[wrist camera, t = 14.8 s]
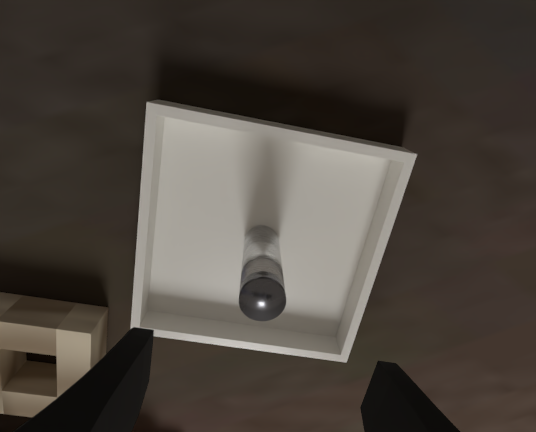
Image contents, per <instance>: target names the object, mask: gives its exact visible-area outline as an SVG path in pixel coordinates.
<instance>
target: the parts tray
mask: <svg viewBox="0 0 536 432" xmlns="http://www.w3.org/2000/svg"><path fill="white" fill-rule="evenodd" d="M416 156H417V154H415V153H413V152H411V151H409V150H407V149H405V148H403V147H400V146H395V145H389V144H384V143H379V142H374V141H369V140H364V139H359V138H354V137H348V136H343V135H338V134H333V133H328V132H323V131H318V130H312V129H307V128H302V127H297V126H292V125H287V124H282V123H277V122H271V121H266V120H261V119H256V118H251V117H246V116H241V115H236V114H230V113H225V112H220V111H215V110H210V109H205V108H200V107H194V106H189V105H184V104H179V103H174V102H169V101H164V100H159V99H158V100H153V101H149V102H147V104H146V118H145V132H144V146H143V161H142V175H141V189H140V203H139V217H138V231H137V245H136V259H135V273H134V287H133V301H132V316H131V329H132V328H133V327H137V328H144V329H151V330H154V335H153V336H156V337H164V338H171V339H178V340H186V341H193V342H200V343H208V344H215V345H222V346H230V347H237V348H244V349H252V350H259V351H266V352H273V353H281V354H288V355H295V356H303V357H310V358H317V359H325V360H332V361H339V362H347V360H348V357H349V354H350V351H351V348H352V345H353V342H354V339H355V336H356V333H357V330H358V327H359V324H360V321H361V318H362V315H363V313H364V310H365V307H366V304H367V301H368V298H369V295H370V292H371V289H372V286H373V283H374V280H375V277H376V274H377V271H378V268H379V265H380V262H381V259H382V256H383V254H384V251H385V248H386V245H387V242H388V239H389V236H390V233H391V230H392V227H393V224H394V221H395V218H396V215H397V212H398V209H399V206H400V203H401V200H402V198H403V195H404V192H405V189H406V186H407V183H408V180H409V177H410V174H411V171H412V168H413V165H414V162H415V159H416ZM258 225H265V226H268V227H271V228H272V229H273V230H275V232H276V233H277V235H278V238H279V245H280V253H281V261H282V269H283V277H284V286H285V294H286V306H285V309H284V310H283V312H282V313H281V314H280V315H279V316H278V317H276V318H274V319H272V320H269V321H256V320H252V319H250V318H248V317H247V316H246V315H245V314H244V313H243V312H242V311H241V309H240V306H239V292H240V281H241V270H242V259H243V248H244V238H245V235H246V233H247V232H248V231H249V230H250V229H251V228H253V227H255V226H258Z"/></svg>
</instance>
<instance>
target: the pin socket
mask: <svg viewBox="0 0 536 432" xmlns="http://www.w3.org/2000/svg"><path fill="white" fill-rule="evenodd" d="M107 325H108V307H102V306H95V305H88V304H81V303H74V302H67V301H60V300H53V299H46V298H39V297H32V296H24V295H17V294H10V293H3V292H0V414H7V415H16V416H25V417H34V416H35V415H36V414H38V413H39V412H40V411H41V410H43V409H44V408H45V407H47V406H48V405H49V404H50V403H52V402H53V401H54V400H55V399H57V398H58V397H59V396H60V395H61V394H63V393H64V392H65V391H66V390H67V389H68V388H70V387H71V386H72V385H73V384H74V383H76V382H77V381H78V380H79V379H80V378H81V377H83V376H84V375H85V374H86V373H87V372H88V371H89V370H90V369H91V368H92V367H93V366H94V365H95V364H97V363H98V362H99V361H100V360H101V359H102V358H103V357H104V356H105V355H106V348H107ZM26 352H30V353H38V354H45V355H53V356H57V364H52V363H44V362H36V361H28V360H27V357H26Z"/></svg>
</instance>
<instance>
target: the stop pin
mask: <svg viewBox="0 0 536 432" xmlns="http://www.w3.org/2000/svg"><path fill="white" fill-rule="evenodd" d="M239 306H240V309H241V311H242V312H243V313H244V314H245V315H246V316H247V317H248V318H250V319H252V320H256V321H269V320H272V319H274V318H276V317H278V316H279V315H280V314H281V313H282V312H283V310H284V309H285V306H286V294H285V286H284V277H283V269H282V261H281V253H280V245H279V238H278V235H277V233H276V232H275V230H273V229H272V228H271V227H268V226H265V225H258V226H255V227H253V228H251V229H250V230H249V231H248V232H247V233H246V235H245V238H244V248H243V259H242V270H241V281H240V292H239Z"/></svg>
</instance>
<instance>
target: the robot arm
mask: <svg viewBox="0 0 536 432" xmlns="http://www.w3.org/2000/svg"><path fill="white" fill-rule="evenodd" d="M153 335H154V330H151V329H144V328H137V327H133V328H132V329H130V330H129V331H128V332H127V333H126V334H125V336H124V337H123V338H122V339H121V340H120V341H119V342H118V343H117V344H116V345H115V346H114V347H113V348H112V349H111V350H110V351H109V352H108V353H107V354H106V355H105V356H104V357H103V358H102V359H101V360H100V361H99V362H98V363H97V364H95V365H94V366H93V367H92V368H91V369H90V370H89V371H88V372H87V373H86V374H85V375H84V376H83V377H81V378H80V379H79V380H78V381H77V382H76V383H74V384H73V385H72V386H71V387H70V388H68V389H67V390H66V391H65V392H64V393H63V394H61V395H60V396H59V397H58V398H57V399H55V400H54V401H53V402H52V403H50V404H49V405H48V406H47V407H45V408H44V409H43V410H41V411H40V412H39V413H38V414H36V415H35V416H34V417H32V418H31V419H29V420H28V421H27V422H25V423H24V424H23V425H21V426H20V427H18V428H17V429H16V430H14V431H13V432H132V429H133V427H134V425H135V422H136V420H137V417H138V415H139V412H140V409H141V406H142V402H143V399H144V396H145V392H146V389H147V386H148V382H149V375H150V365H151V355H152V345H153ZM361 413H362V419H363V426H364V431H365V432H460V431H459V430H458V429H457V428H456V427H455V426H454V425H453V424H452V423H451V422H450V421H449V420H448V419H447V418H446V416H445V415H444V414H443V413H442V412H441V411H440V410H439V409H438V408H437V407H436V406H435V405H434V404H433V403H432V401H431V400H430V399H429V398H428V397H427V396H426V395H425V394H424V393H423V392H422V390H421V389H420V388H419V387H418V386H417V385H416V384H415V383H414V382H413V381H412V380H411V378H410V377H409V376H408V375H407V374H406V373H405V372H404V371H403V370H402V369H401V368H400V367H399V366H398V365H397V364H396V363H390V362H383V361H378V362H377V365H376V368H375V370H374V373H373V376H372V378H371V381H370V384H369V386H368V389H367V392H366V394H365V397H364V400H363V402H362V405H361Z"/></svg>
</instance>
